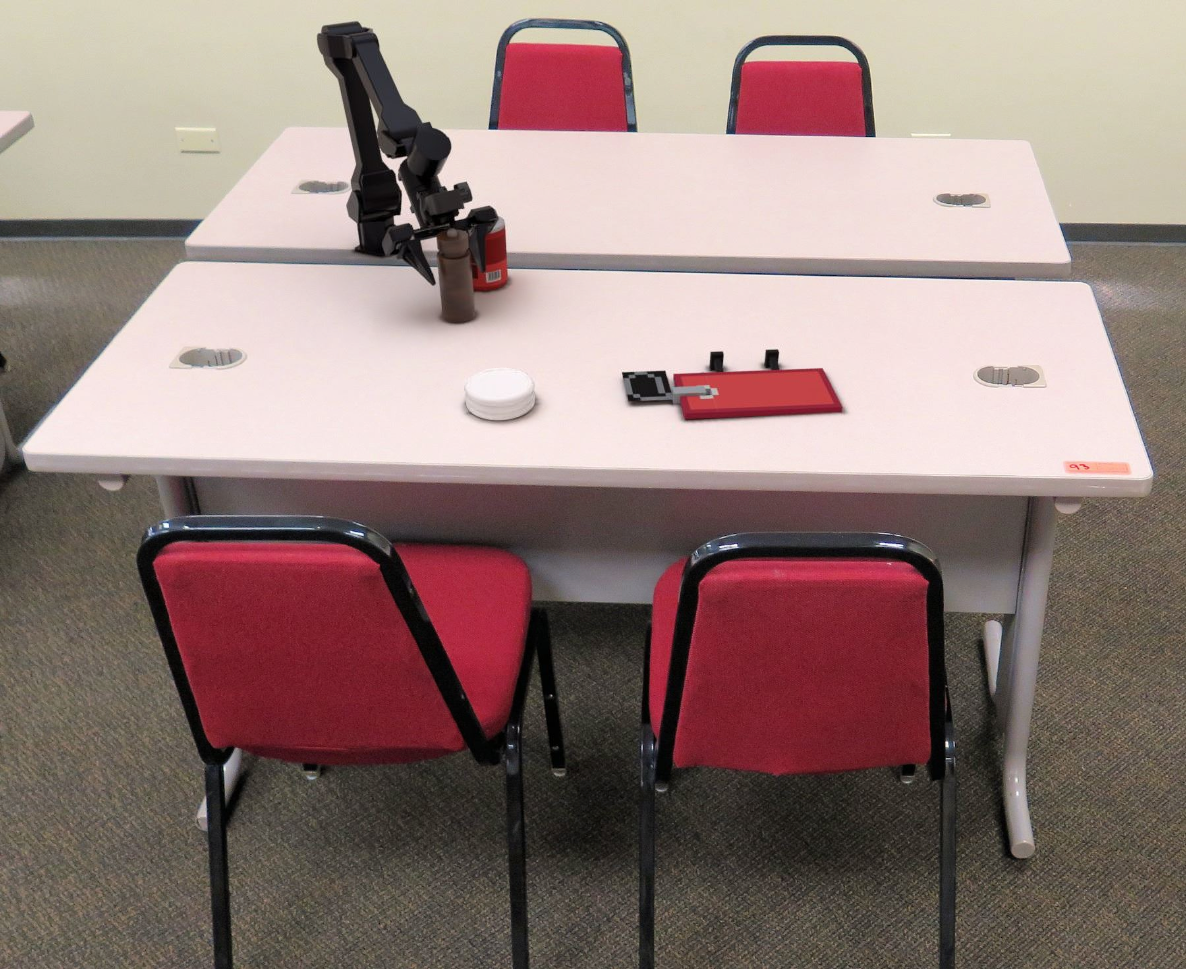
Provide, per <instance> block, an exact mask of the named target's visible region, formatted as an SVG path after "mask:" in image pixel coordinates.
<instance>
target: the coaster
mask: <svg viewBox="0 0 1186 969" xmlns="http://www.w3.org/2000/svg"><path fill="white" fill-rule="evenodd" d="M464 392H465V393H464V398H465V406H466V408H467V410H468V411H469V412H470V413H471V414H473V415H474V416H476V417H478V418H480V419H483V420H490V421H507V420H513V419H516V418H519V417H522V416H524V415H525V414H527V413H528V412H530V411H531V410H532V409H533V407H534V405H535V403H536V396H535V395H536V391H535V381H534V379H533V378H532V376H530V375H529V374H528V373H526V372H524V371H522V370H519V369H516V368H511V367H494V368H493V367H492V368H488V369H483V370H480V371H478V372H476V373H474V374H473V375H472V376H470V377H469V378H468V379H467V380H466V382H465V384H464Z"/></svg>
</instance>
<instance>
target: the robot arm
mask: <svg viewBox="0 0 1186 969" xmlns="http://www.w3.org/2000/svg"><path fill="white" fill-rule="evenodd" d="M316 43H317V44H316V45H317V48H318V52H319V53H320V54H321V55H322V58H323V61H324V62H323V63H324V65H325V66H326V68H327V69H328V70H329V71H330V72H331V73H332V74H333V76H334V77H335V78H336V79H337V82H338V86H339V91H340V95H341V102H342V106H343V110H344V114H345V115H344V116H345V119H346V123H347V129H348V134H349V138H350V142H351V147H352V152H353V157H354V161H355V166H354V169H353V172H352V175H351V178H350V188H351V192H350V194H349V197H348V200H347V202H346V203H345V204H346V205H345V207H346V211H347V215H348V218H350V219H351V220H352V221H353V222H354V223H356V228H357V235H358V244H359V245H357V246H354V251H355V252H359V253H364V254H369V255H372V256H373V255H374V256H378V257H384V256H386V257H387V258H392V257H395V258H396V260H397V261H398V260H401V261H404V262H405V263H406V264H407V265H409V266H410V267H411V268H412V269H414V270H415V271H416V272H417V273H418V274H419V275H420V276H422V277H423V279H425V280H426V281H427V282H428V283H429V284H430V285H431V286H436V284H437V282H436V279H435V278H436V277H435V275H434V272H433V270H432V268H431V266H430V264H429V262H428V259H427V257H426V255H425V253H424V250H423V246H422V241H426V240H431V239H434V238H436V236H437V234H438V233H440V232H442V231H446V230H449V229H455V230H462V231H466V233H467V234H468V236H470V237H469V239H468V240H469V247H470V249H471V251H472V254H473V256H474V258H475V261H476V263H477V265H478V267H479V269H480V271H481V272H482V274H484V273H485V272H486V258H485V239H486V236H487V234H489V233H491V231H492V229H493V228H494V226H495V225H496V223H497V221H498V220H499V217H498V216H499V214H498V213H497V210H496V209H495V208H494V207H493V206H491V205H485V206H480V207H476V208H471V209H470V211H469V213H467V216H466V217H465V218H461V219H456V217H458V216H459V214H460V210H465V204H467V203H470V202H472V201H473V194H472V189H471V187H470V186H469V183H468V181H463V182H462V181H461V182H458V183H455V184H453V189H450V190H448V188H447V187H446V185H442V184H441V180H440V178H439V176H438V175H439V174H441V172H442V171H443V168H444V166H445V164H446V162H447V161H448V158H449V157H450V154H451V153H452V152H451V151H452V141H451V139H450V137H449V136H447V134H446V133H444V132H443V131H442V130H440V129H439V128H436V127H433V125H432V122H431V121H426V122H425V121H424V122H423V120H422V119H421V117H420V115H419V113H418V112H417V110H416V109H414V108H412V107H411V106H410V105H408V104H407V103H405V102H404V100H403V98H402V96H401V94H400V91H399V89H398V87H397V85H396V83H395V81H394V78H393V76H392V74H391V72H390V69H389V67H388V65H387V63H386V61H385V59H384V56H383V54H382V52H381V46H380V41H379V38H378V36H377V34H376V32H374V29H373V28H371V27H366V26H362V24H361V23H360V22H359V21H358V20H353V21H346V22H337V23H332V24H331V23H330V24H323V25H322V26H321V30H320V32H318V33H317V34H316ZM372 107H373V108H372ZM373 109H374V111H375V114H376V116H377V120H378V122H377V127H376V123H375V119H374V113H373ZM382 153H383V154H384V155H385V157H386V158H387V159H391V160H397V159H402V158H405V159H403V160H402V161H401V163H400V164H399V167H398V169H397V174H396V172H395V171H394V169H393V168H390V167H389V166H388V165H387V164H386V163H385V161H383V156H382ZM398 181H399V182H402V185H403V188H404V190H405V192H406V195H407V198H408V200H409V203H410V206H409V210H410V213H411V215H412V214H414V215H415V218H416V221H417V224H418V225H419V226H418V227H419V228H415V229H414V226H413V225H412V224H411V223H410V222H407V223H402V224H401V223H400V224H398V225H397V224H396V223H395V217H396V216H397V217H398V216H401V215H402V204H403V203H402V202H403V190H402V189H401V187H400V185H399V183H398Z"/></svg>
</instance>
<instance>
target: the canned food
mask: <svg viewBox="0 0 1186 969" xmlns="http://www.w3.org/2000/svg"><path fill="white" fill-rule="evenodd" d="M498 217H499V220H498V221H497V223H496V225H495V226H494V228H493V229H492V231H491V233H489V234H487V236H486V239H485V258H486V272H485V273H484V274H482V272H481V271H480V269H479V267H478V265H477V263H476V261H475V258H474V256H473V254H472V251H471V249H470V247H469V248H468V250H469V251H470V252H471V265H472V279H473V291H479V292H488V291H489V292H490V291H494V290H497V289H500V288H502V287H504V286H505V285H506V284H507V282H508V278H509V275H508V274H509V273H508V272H509V271H508V256H507V255H508V251H507V232H506V222H505V219H504V218H503V217H501V216H499V215H498ZM465 232H466V231H465ZM469 237H470V236H468V239H469Z"/></svg>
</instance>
